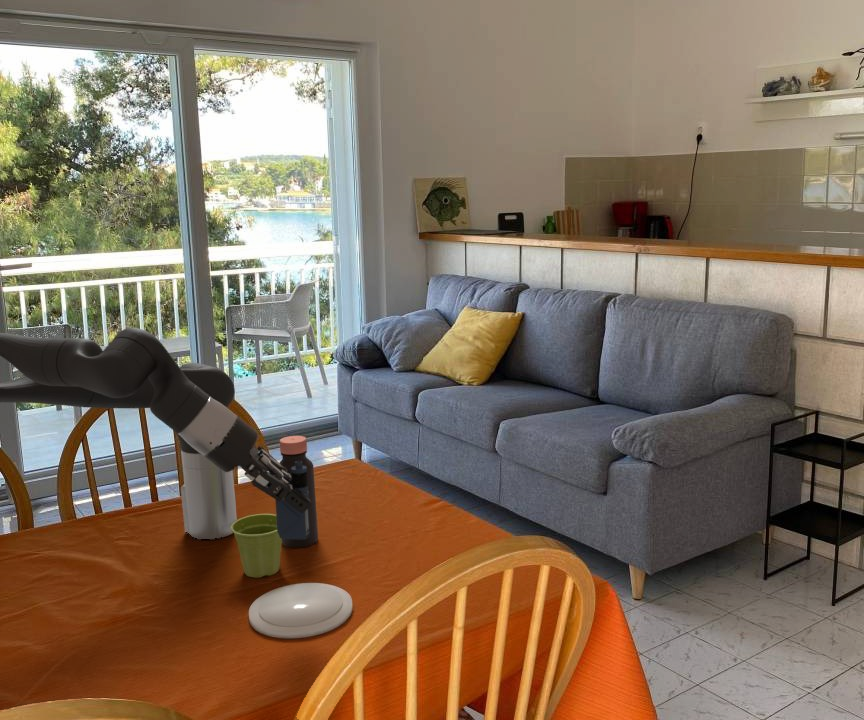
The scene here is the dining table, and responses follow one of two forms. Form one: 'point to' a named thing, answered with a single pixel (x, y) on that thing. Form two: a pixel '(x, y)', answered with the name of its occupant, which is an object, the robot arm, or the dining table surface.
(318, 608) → the plate
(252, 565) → the plant pot
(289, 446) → the bottle
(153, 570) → the dining table surface
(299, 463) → the vaping device
